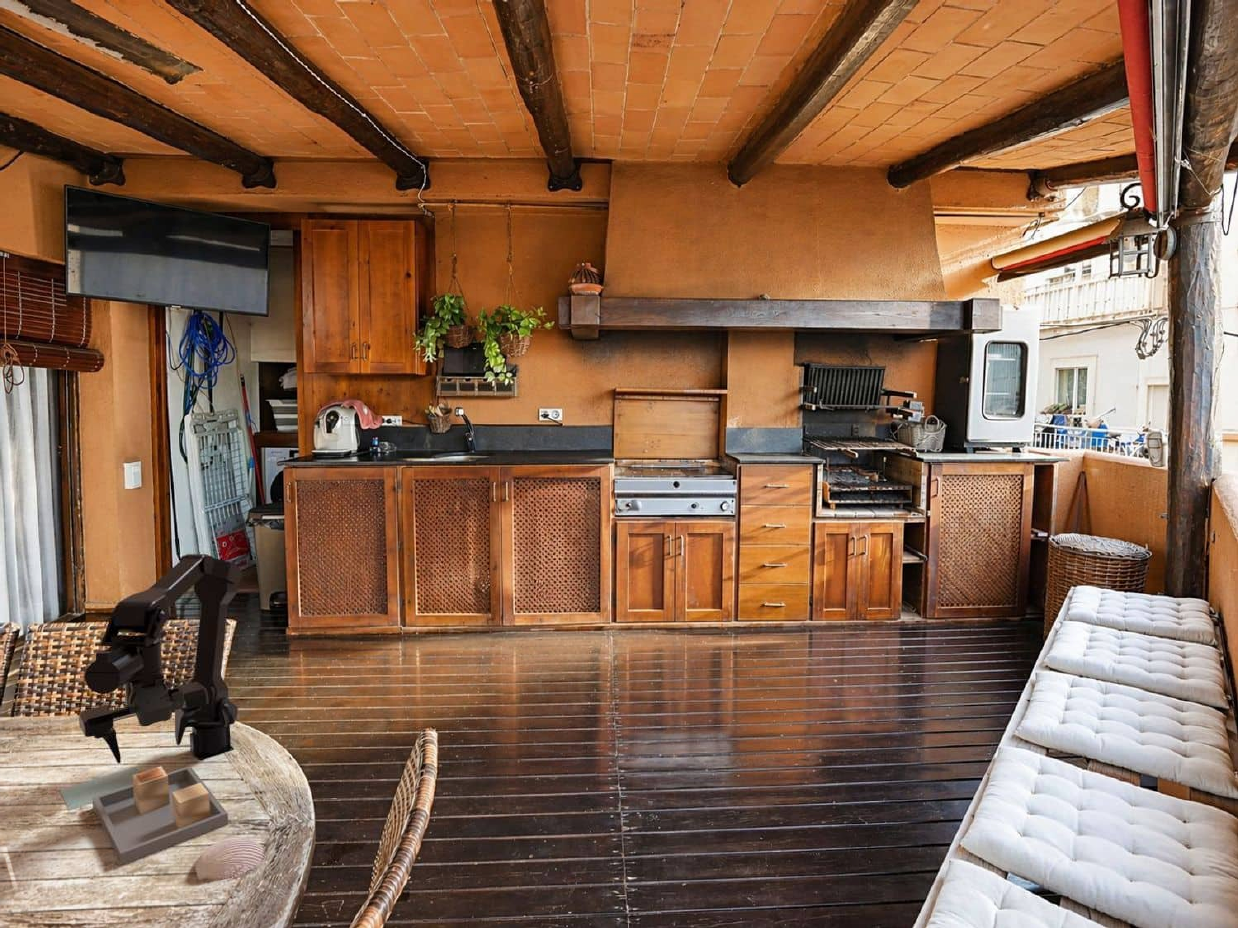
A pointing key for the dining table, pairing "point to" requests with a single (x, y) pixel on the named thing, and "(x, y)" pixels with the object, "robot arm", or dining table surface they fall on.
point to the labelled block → (151, 790)
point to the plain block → (190, 805)
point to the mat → (97, 788)
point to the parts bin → (151, 820)
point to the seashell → (229, 859)
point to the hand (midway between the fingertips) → (149, 752)
